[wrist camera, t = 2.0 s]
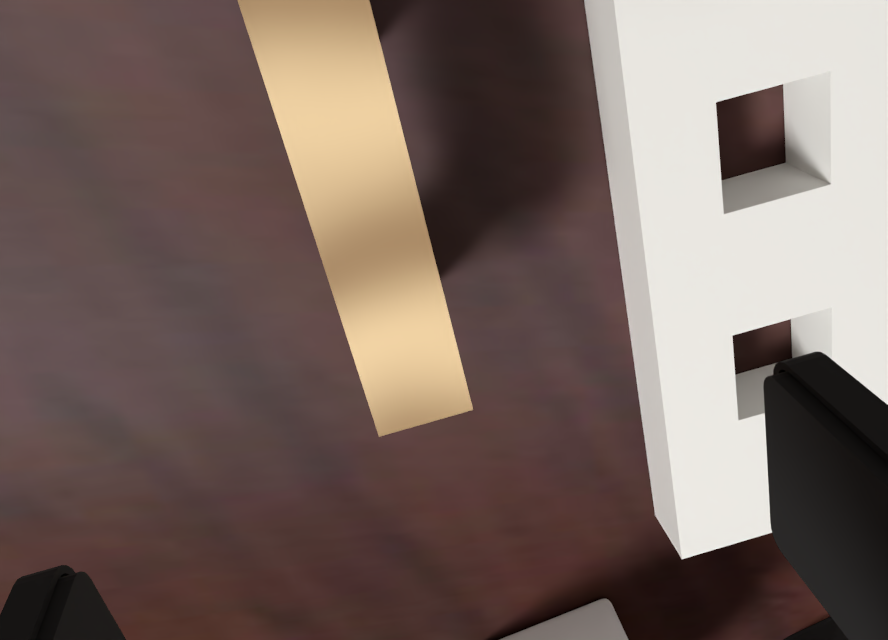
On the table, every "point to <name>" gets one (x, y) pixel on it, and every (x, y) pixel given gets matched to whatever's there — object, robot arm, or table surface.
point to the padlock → (820, 632)
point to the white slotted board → (740, 228)
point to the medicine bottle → (578, 625)
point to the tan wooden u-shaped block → (361, 202)
